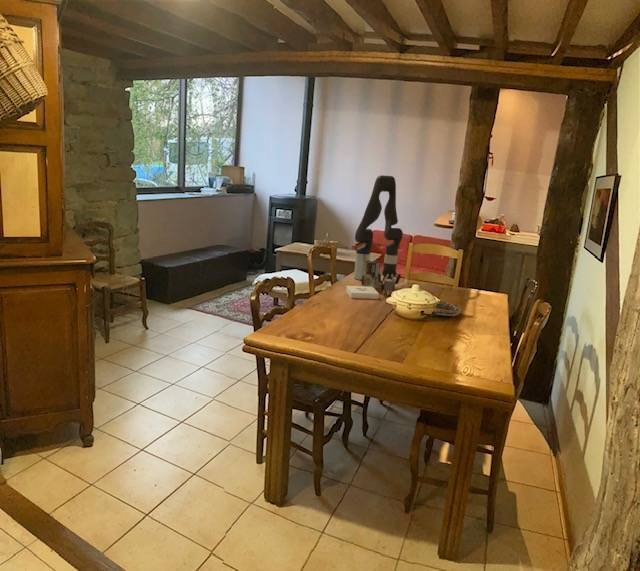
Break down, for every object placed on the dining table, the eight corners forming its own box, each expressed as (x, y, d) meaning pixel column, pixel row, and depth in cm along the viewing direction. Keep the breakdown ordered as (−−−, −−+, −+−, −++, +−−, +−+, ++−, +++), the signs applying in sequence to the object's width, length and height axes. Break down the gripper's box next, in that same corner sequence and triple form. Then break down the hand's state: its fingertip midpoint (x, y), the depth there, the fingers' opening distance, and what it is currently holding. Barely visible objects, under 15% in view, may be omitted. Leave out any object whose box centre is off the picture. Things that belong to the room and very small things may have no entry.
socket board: (345, 290, 287) (346, 285, 286) (372, 291, 289) (372, 286, 288) (350, 297, 271) (351, 292, 270) (378, 298, 273) (378, 293, 273)
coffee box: (378, 287, 300) (381, 262, 296) (373, 289, 294) (376, 263, 291) (365, 284, 304) (367, 259, 301) (360, 286, 299) (363, 261, 295)
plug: (381, 292, 287) (383, 279, 285) (390, 293, 288) (391, 280, 286) (383, 295, 282) (385, 281, 280) (392, 295, 283) (393, 282, 281)
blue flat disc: (437, 303, 274) (438, 295, 273) (477, 318, 253) (479, 309, 252) (402, 309, 257) (404, 300, 256) (443, 325, 236) (444, 315, 235)
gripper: (400, 261, 285) (397, 289, 289) (376, 260, 283) (374, 288, 287) (404, 264, 278) (400, 292, 282) (380, 262, 276) (377, 291, 280)
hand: (387, 290), depth 284 cm, fingers closed on plug, 5 cm apart
